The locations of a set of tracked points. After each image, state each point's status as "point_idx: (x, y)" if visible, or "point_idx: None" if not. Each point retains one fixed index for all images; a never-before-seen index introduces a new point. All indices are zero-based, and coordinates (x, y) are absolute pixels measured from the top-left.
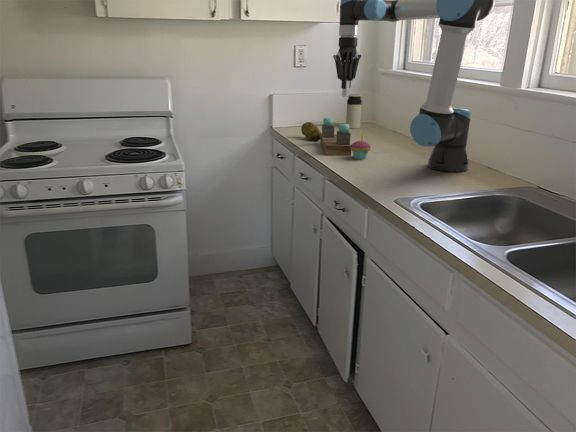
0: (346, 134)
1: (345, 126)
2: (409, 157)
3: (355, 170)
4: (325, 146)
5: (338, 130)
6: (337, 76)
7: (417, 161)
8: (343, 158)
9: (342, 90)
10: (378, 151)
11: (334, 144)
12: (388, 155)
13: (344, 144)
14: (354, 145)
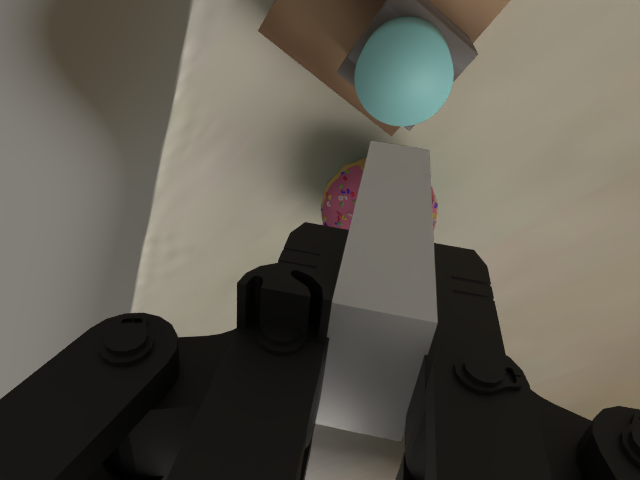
0: None
1: (379, 117)
2: (578, 318)
3: (217, 294)
4: (272, 7)
5: (366, 42)
6: (59, 355)
7: (527, 365)
8: (308, 140)
9: (361, 181)
10: (606, 151)
11: (337, 29)
12: (546, 240)
13: None
14: (327, 217)
